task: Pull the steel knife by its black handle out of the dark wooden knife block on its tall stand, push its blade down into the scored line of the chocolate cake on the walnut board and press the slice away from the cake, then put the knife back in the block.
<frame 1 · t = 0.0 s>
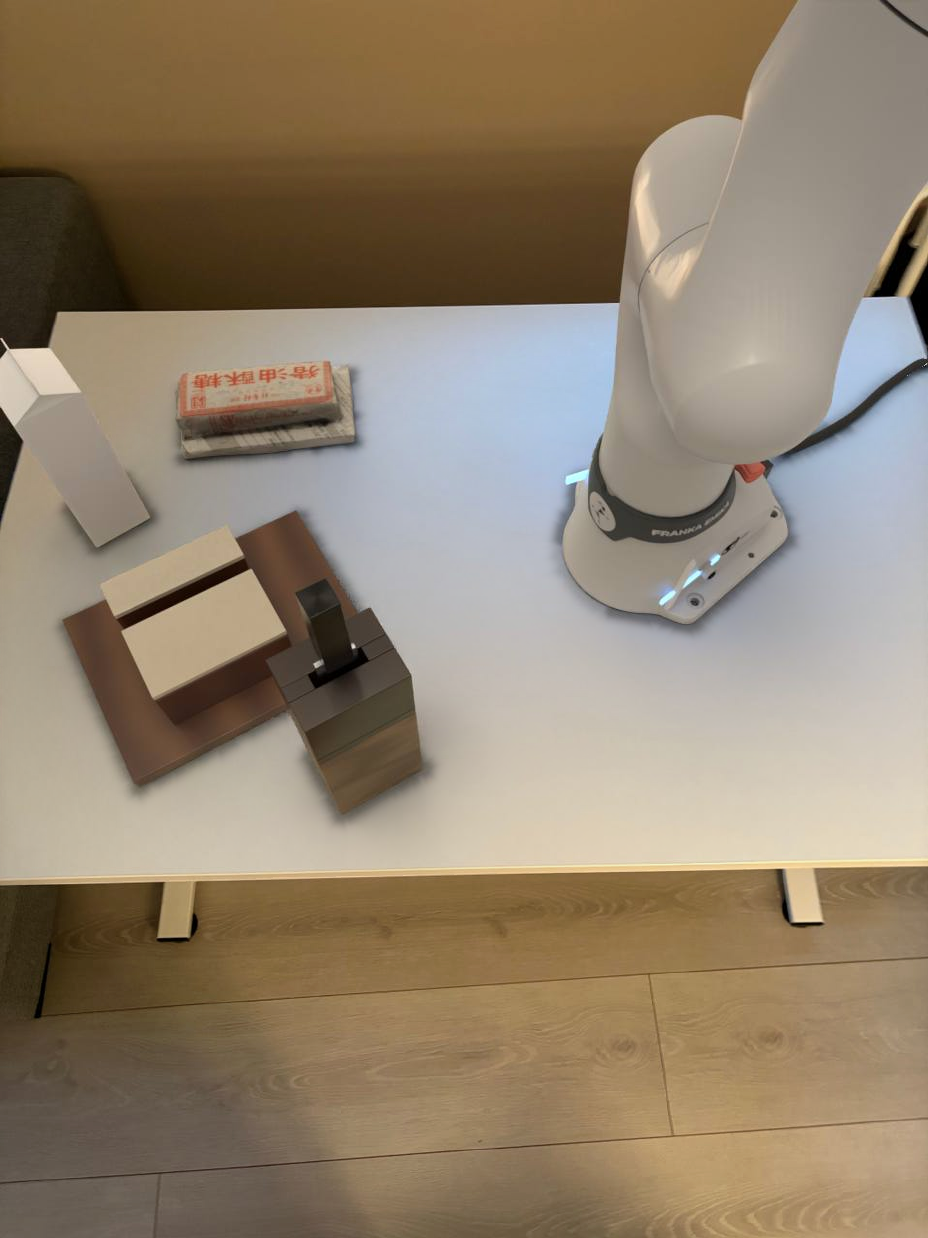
knife block: (366, 763, 80), on the table
board: (224, 643, 85), on the table
knife: (347, 700, 67), point 15 cm above the table, touching knife block
milk: (111, 514, 92), on the table
cake slice: (182, 587, 83), point 5 cm above the table, slide at 0.0 cm
packaged product: (269, 417, 98), on the table
cake: (214, 647, 85), resting on board
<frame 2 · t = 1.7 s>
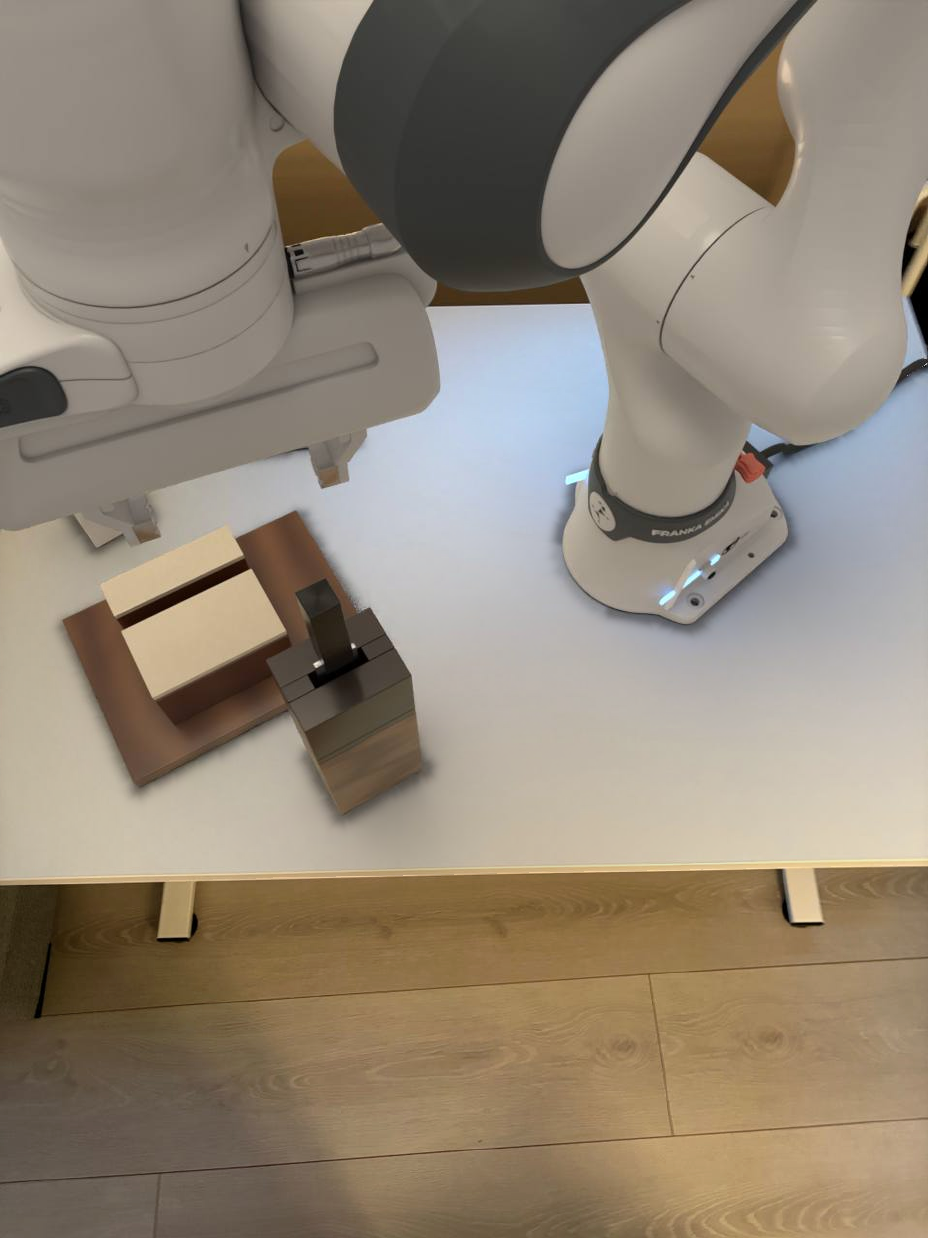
hand: (239, 502, 45), 40 cm above the table, tool pointing down, fingers open, 8 cm apart
nothing on the table moved.
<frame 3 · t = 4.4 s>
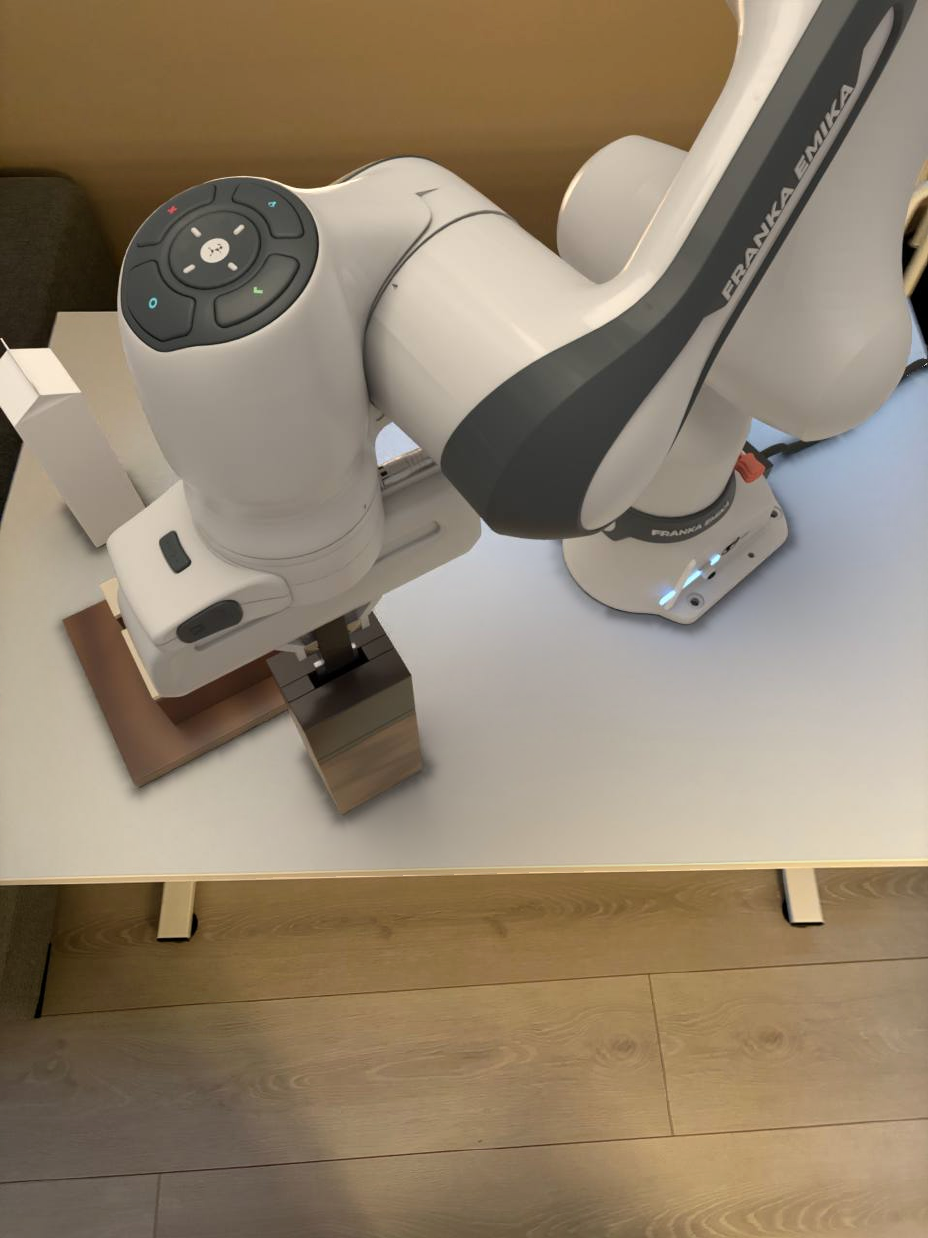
hand: (328, 634, 57), 26 cm above the table, tool pointing down, fingers closed on knife, 2 cm apart
knife: (347, 700, 67), point 15 cm above the table, touching gripper, knife block
everything else where it was.
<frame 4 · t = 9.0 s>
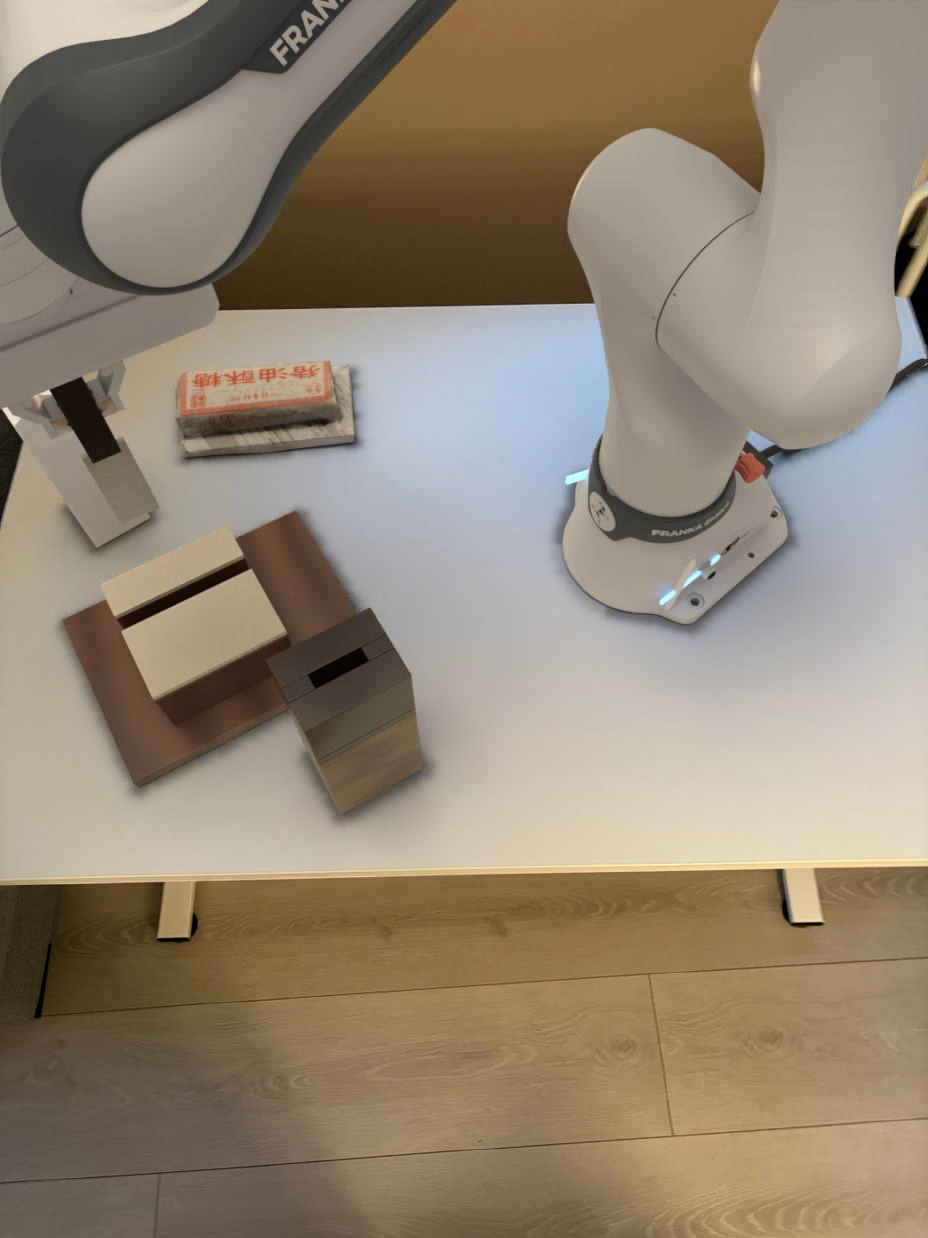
hand: (85, 417, 58), 31 cm above the table, tool pointing down, fingers closed on knife
knife: (139, 514, 68), point 20 cm above the table, touching gripper
everything else where it was.
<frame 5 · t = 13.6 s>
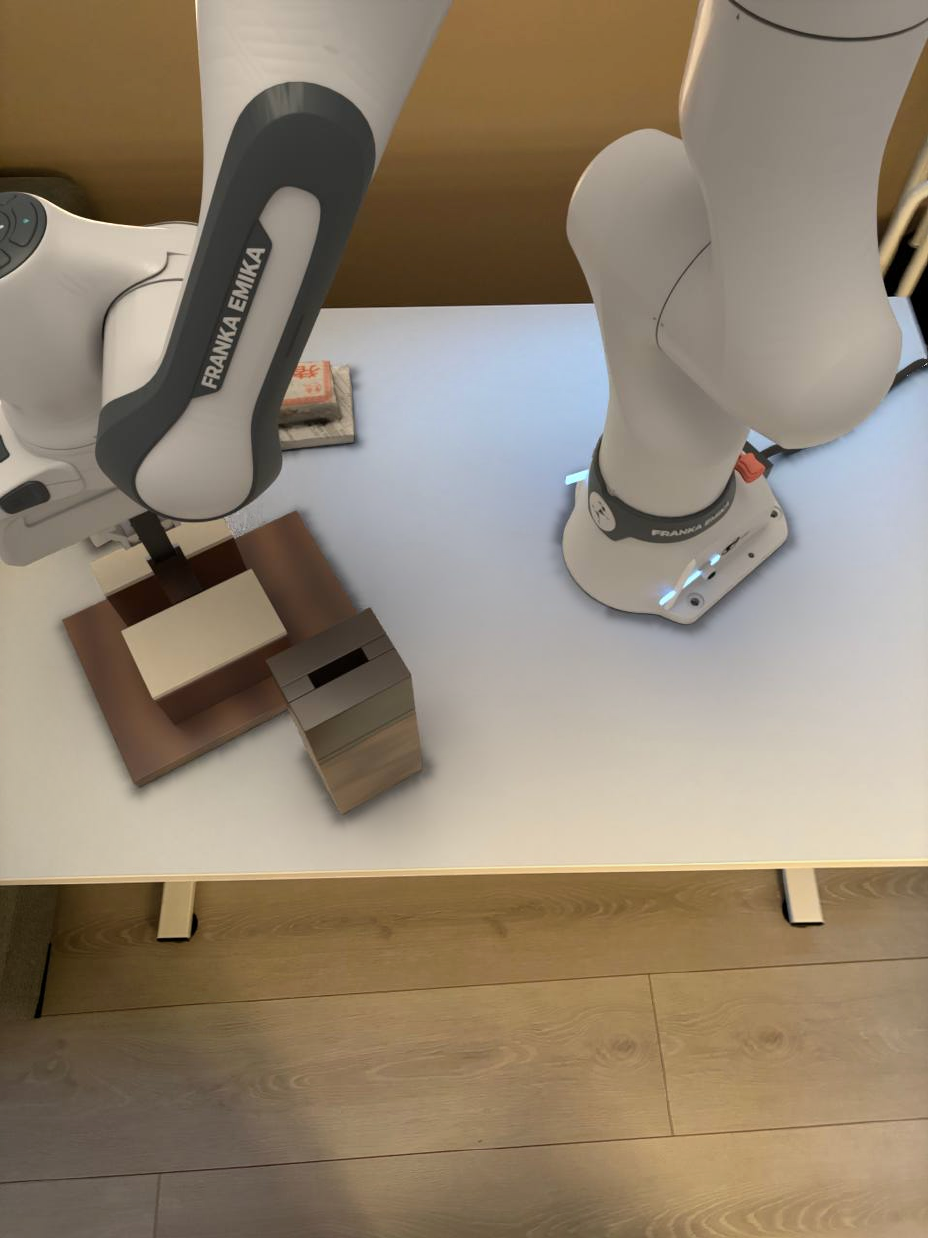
hand: (150, 531, 75), 14 cm above the table, tool pointing down, fingers closed on knife, 2 cm apart
knife: (186, 595, 85), point 3 cm above the table, touching cake slice, gripper
cake slice: (171, 566, 84), point 5 cm above the table, slide at 2.5 cm, touching knife
everything else where it was.
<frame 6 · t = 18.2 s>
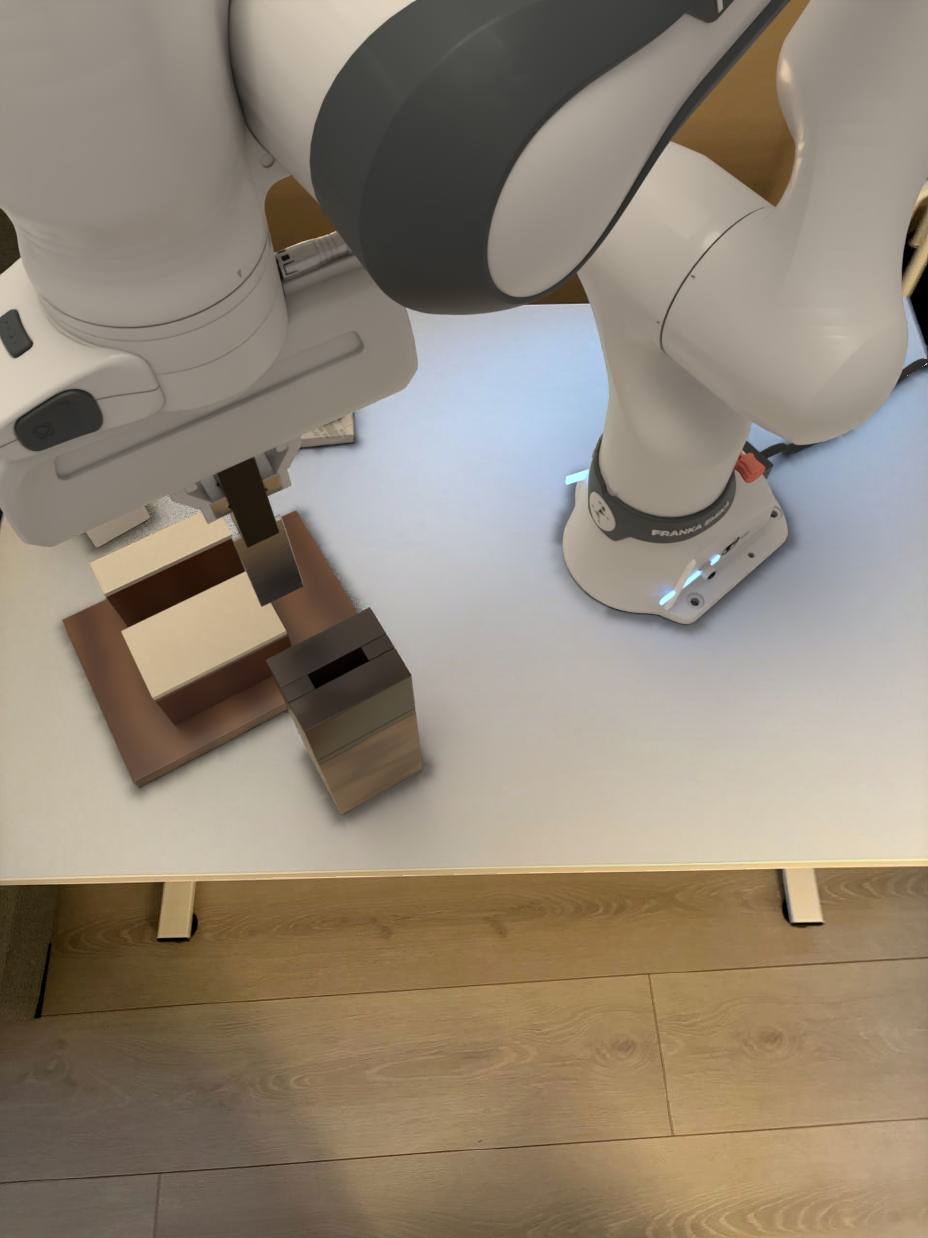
hand: (244, 496, 49), 37 cm above the table, tool pointing down, fingers closed on knife
knife: (281, 594, 59), point 26 cm above the table, touching gripper
cake slice: (171, 566, 84), point 5 cm above the table, slide at 2.5 cm
everything else where it was.
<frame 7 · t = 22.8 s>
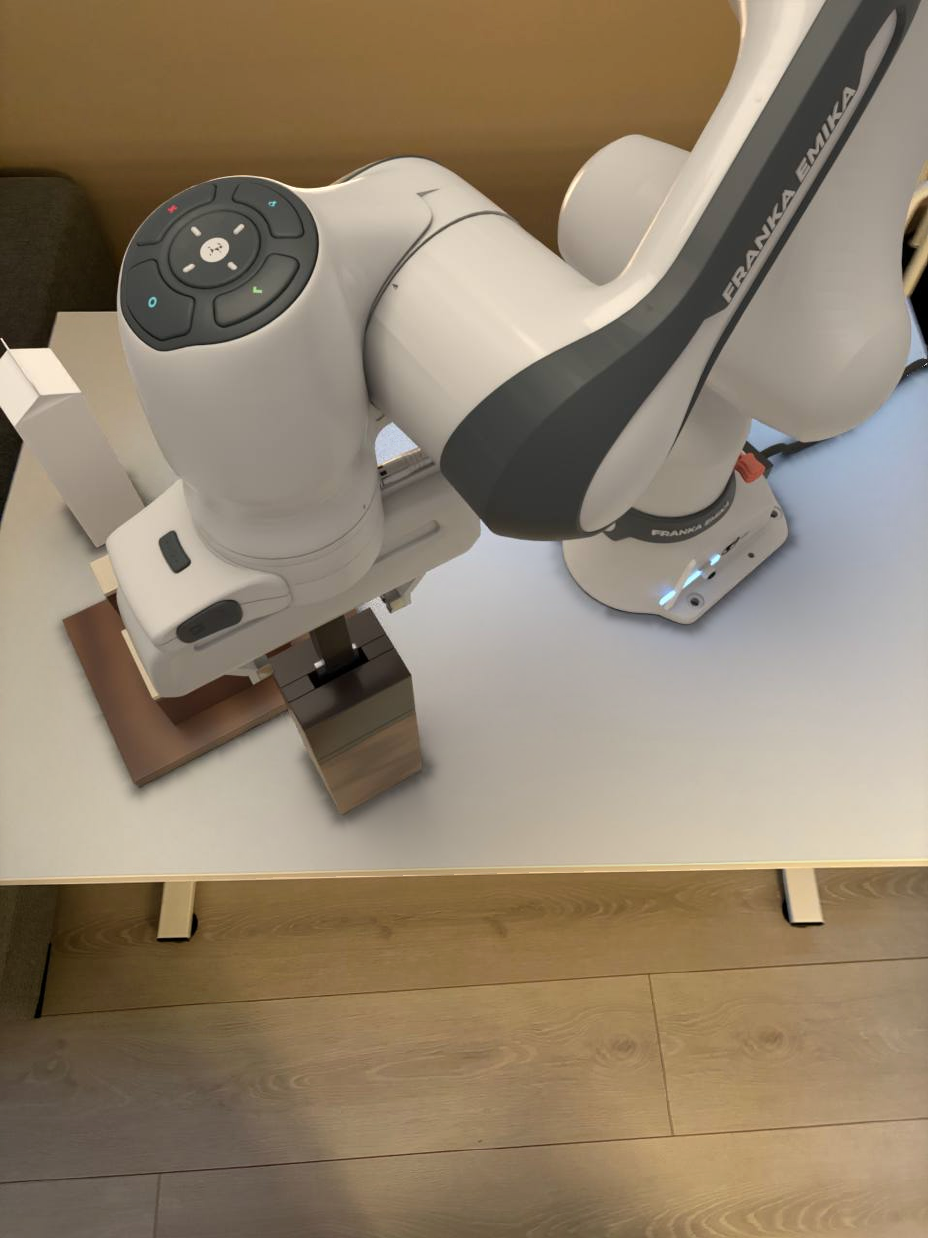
hand: (328, 634, 57), 26 cm above the table, tool pointing down, fingers open, 8 cm apart
knife: (348, 700, 67), point 15 cm above the table, touching knife block
everything else where it was.
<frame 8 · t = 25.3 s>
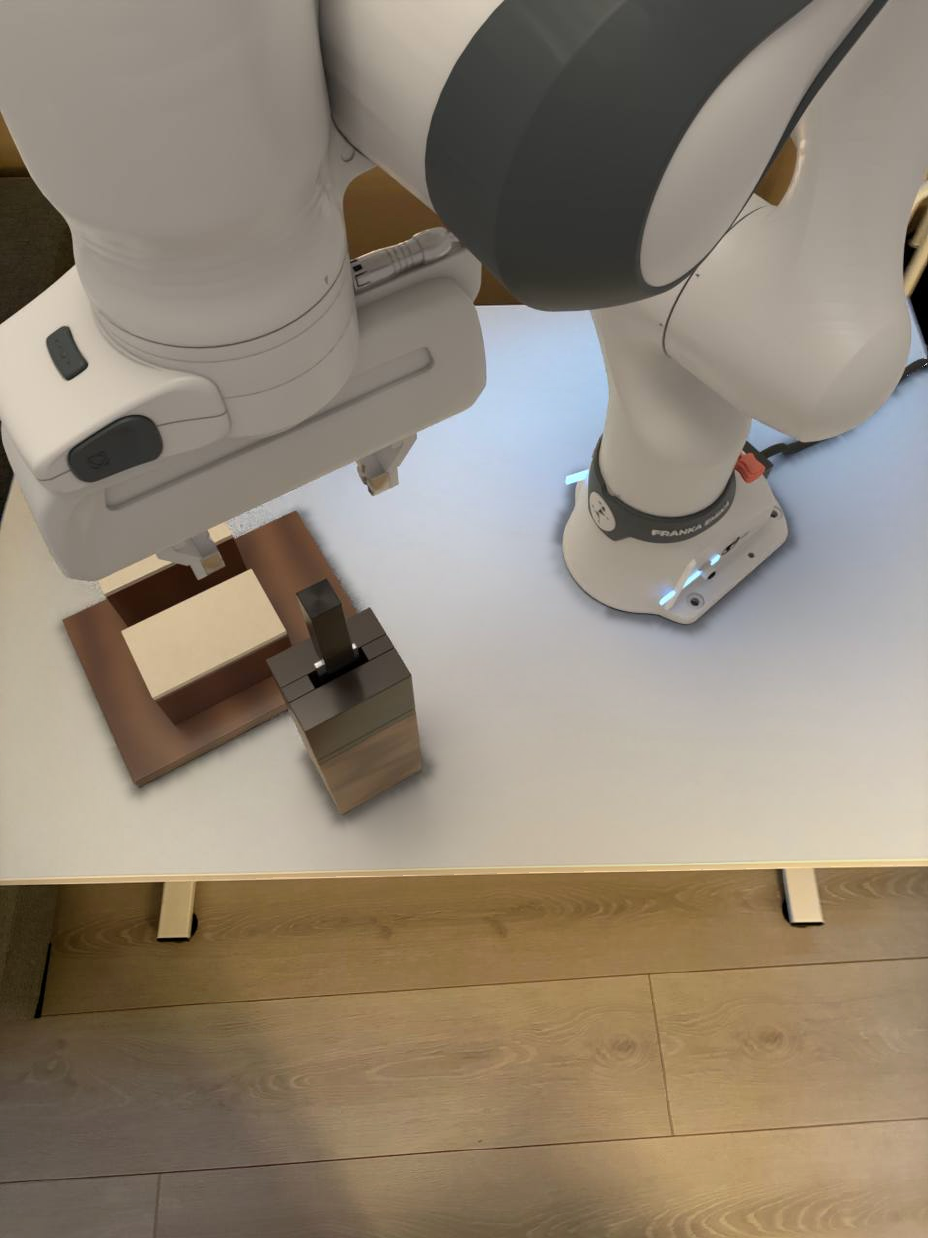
hand: (294, 521, 45), 39 cm above the table, tool pointing down, fingers open, 8 cm apart
nothing on the table moved.
at the end: cake slice pulled out 2.5 cm at the most during the clip, back to 2.5 cm at the end; knife 0.0 cm off-centre on the knife block, point 15.0 cm above the knife block's base; the gripper is holding nothing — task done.
